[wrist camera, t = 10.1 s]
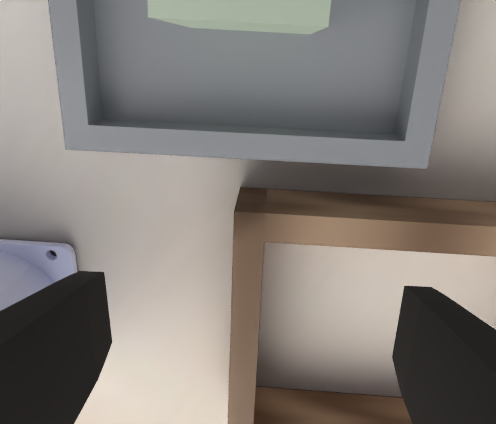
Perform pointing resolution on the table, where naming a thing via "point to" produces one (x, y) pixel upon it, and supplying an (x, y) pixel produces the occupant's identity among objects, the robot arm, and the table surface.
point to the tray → (255, 83)
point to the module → (245, 14)
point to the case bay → (340, 235)
